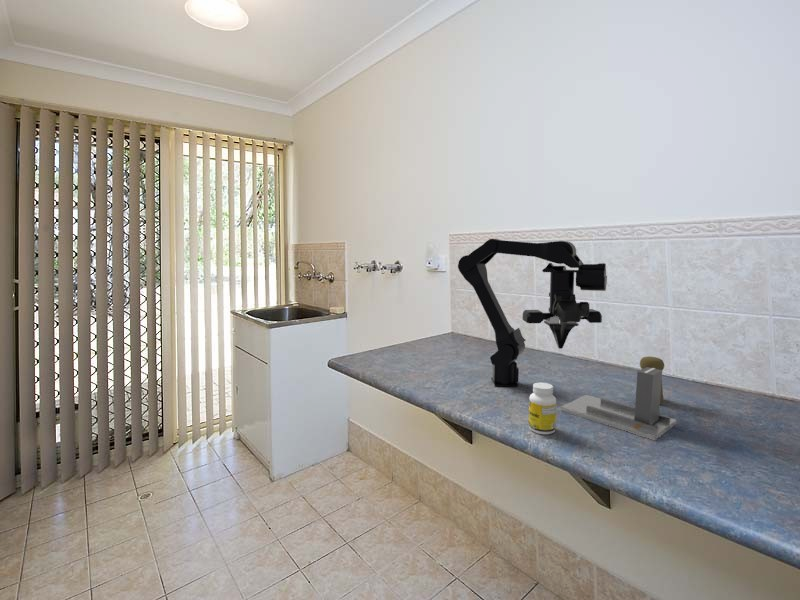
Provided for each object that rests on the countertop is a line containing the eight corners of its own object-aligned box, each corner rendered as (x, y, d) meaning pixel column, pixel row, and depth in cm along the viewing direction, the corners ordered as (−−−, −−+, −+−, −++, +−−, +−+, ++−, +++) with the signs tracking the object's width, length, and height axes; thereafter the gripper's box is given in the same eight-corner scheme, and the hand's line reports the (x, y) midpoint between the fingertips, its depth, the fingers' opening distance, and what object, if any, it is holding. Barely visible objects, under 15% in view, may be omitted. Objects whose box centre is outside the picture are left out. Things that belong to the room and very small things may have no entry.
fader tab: (634, 421, 87) (637, 370, 85) (643, 415, 90) (646, 366, 88) (649, 425, 84) (653, 374, 83) (658, 419, 87) (662, 369, 86)
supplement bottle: (524, 424, 89) (525, 381, 87) (548, 423, 89) (549, 380, 88) (534, 435, 83) (536, 390, 82) (559, 434, 84) (561, 389, 82)
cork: (636, 393, 106) (639, 353, 105) (663, 398, 103) (667, 356, 101) (634, 401, 101) (637, 358, 100) (663, 406, 98) (666, 362, 97)
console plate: (561, 410, 96) (561, 402, 96) (585, 398, 103) (586, 390, 103) (654, 440, 80) (655, 431, 80) (676, 424, 88) (676, 415, 88)
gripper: (533, 293, 97) (532, 356, 99) (613, 292, 96) (610, 356, 98) (522, 289, 108) (521, 345, 110) (593, 288, 107) (591, 345, 109)
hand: (560, 348), depth 107 cm, fingers closed
